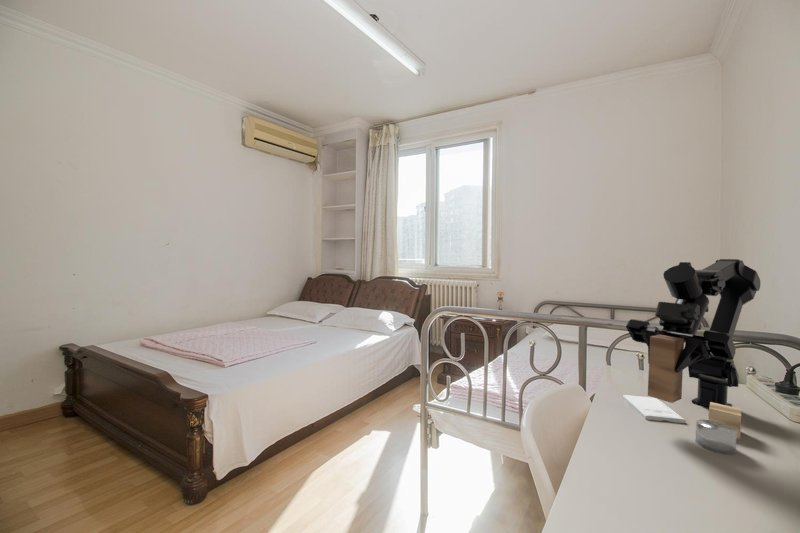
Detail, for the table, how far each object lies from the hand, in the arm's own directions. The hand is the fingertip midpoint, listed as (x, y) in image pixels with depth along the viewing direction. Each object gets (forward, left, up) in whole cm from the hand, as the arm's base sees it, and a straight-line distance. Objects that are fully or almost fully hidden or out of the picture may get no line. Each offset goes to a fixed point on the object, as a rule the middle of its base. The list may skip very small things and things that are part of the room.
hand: (662, 367), depth 75 cm
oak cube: (-12, +7, -14) cm, 20 cm away
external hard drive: (-10, -6, -14) cm, 19 cm away
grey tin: (-2, +9, -14) cm, 16 cm away
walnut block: (-1, 0, -7) cm, 7 cm away
